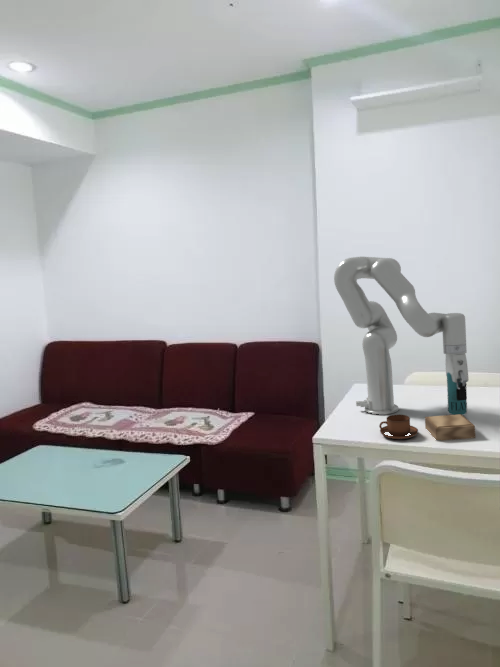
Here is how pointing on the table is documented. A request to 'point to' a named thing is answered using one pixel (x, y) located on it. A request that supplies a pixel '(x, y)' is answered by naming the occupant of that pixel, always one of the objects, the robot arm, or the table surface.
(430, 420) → the walnut base
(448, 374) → the beverage bottle
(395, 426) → the cup and saucer
